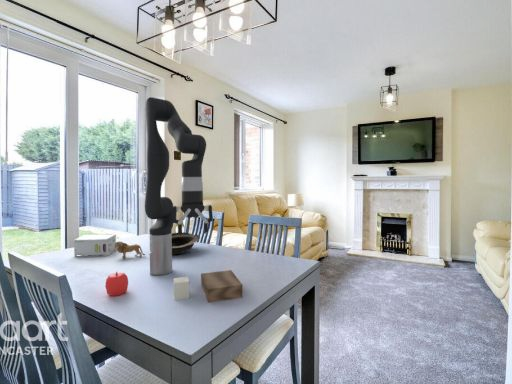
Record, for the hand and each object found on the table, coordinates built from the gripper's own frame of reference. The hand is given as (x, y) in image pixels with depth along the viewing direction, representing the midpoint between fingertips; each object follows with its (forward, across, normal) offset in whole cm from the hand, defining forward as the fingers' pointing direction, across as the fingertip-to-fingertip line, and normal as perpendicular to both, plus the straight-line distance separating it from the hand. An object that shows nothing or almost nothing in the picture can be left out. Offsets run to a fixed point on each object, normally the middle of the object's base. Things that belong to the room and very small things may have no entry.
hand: (193, 233), depth 102 cm
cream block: (+21, -4, -4) cm, 22 cm away
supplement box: (+21, -53, +66) cm, 87 cm away
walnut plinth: (+22, +10, -2) cm, 24 cm away
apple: (+21, -27, +4) cm, 35 cm away
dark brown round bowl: (+21, -9, +58) cm, 63 cm away
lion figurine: (+21, -33, +52) cm, 65 cm away
